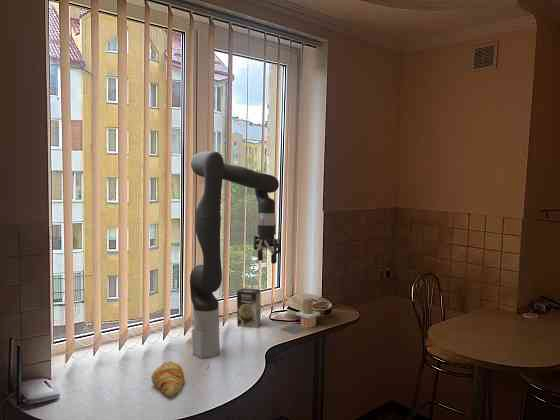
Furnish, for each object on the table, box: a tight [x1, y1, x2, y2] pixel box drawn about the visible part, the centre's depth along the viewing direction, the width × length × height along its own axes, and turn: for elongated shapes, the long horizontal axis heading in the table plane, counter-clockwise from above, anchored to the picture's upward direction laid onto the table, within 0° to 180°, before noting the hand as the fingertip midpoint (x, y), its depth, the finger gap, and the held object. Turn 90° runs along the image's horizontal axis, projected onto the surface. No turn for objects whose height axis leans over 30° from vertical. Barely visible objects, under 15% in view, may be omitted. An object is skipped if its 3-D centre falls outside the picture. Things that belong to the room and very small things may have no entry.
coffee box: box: [236, 287, 262, 329], centre depth 205 cm, size 9×6×16 cm
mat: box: [280, 324, 309, 335], centre depth 199 cm, size 9×9×1 cm
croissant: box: [150, 361, 185, 397], centre depth 151 cm, size 21×10×8 cm, turn 18°
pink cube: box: [300, 316, 317, 328], centre depth 205 cm, size 6×6×5 cm
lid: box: [295, 298, 321, 319], centre depth 204 cm, size 8×8×7 cm
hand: (266, 261), depth 197 cm, fingers open, 8 cm apart
